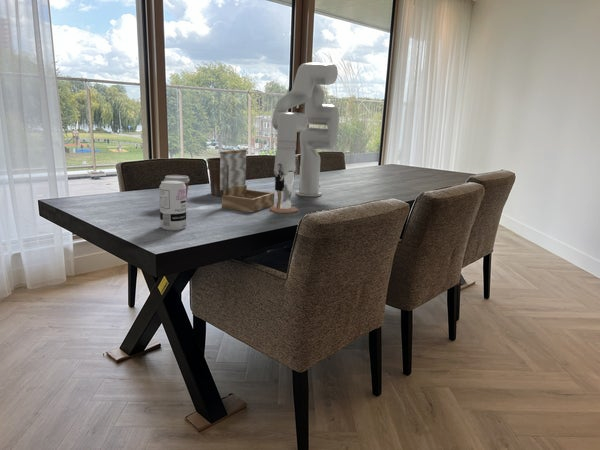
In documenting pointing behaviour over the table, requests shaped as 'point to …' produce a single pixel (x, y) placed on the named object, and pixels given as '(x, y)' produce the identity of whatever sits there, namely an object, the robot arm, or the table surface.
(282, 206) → the beer glass
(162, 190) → the supplement can
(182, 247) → the table surface
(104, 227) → the table surface
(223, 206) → the open wooden box
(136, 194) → the table surface
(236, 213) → the table surface
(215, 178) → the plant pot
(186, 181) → the disposable coffee cup
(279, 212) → the saucer
